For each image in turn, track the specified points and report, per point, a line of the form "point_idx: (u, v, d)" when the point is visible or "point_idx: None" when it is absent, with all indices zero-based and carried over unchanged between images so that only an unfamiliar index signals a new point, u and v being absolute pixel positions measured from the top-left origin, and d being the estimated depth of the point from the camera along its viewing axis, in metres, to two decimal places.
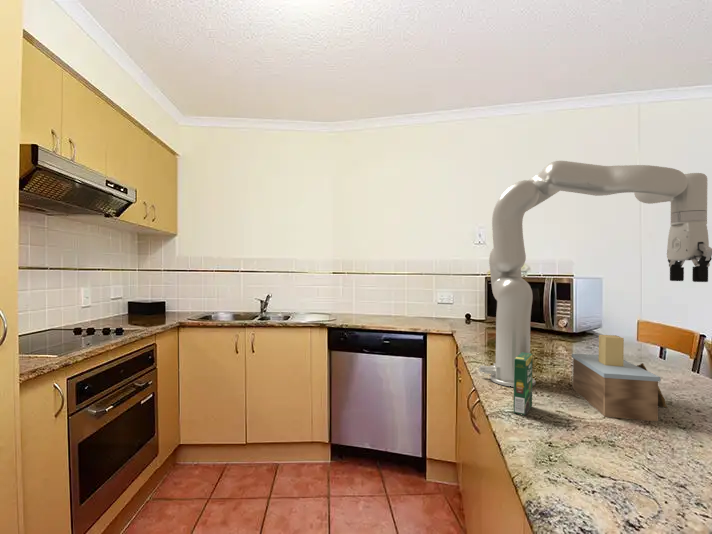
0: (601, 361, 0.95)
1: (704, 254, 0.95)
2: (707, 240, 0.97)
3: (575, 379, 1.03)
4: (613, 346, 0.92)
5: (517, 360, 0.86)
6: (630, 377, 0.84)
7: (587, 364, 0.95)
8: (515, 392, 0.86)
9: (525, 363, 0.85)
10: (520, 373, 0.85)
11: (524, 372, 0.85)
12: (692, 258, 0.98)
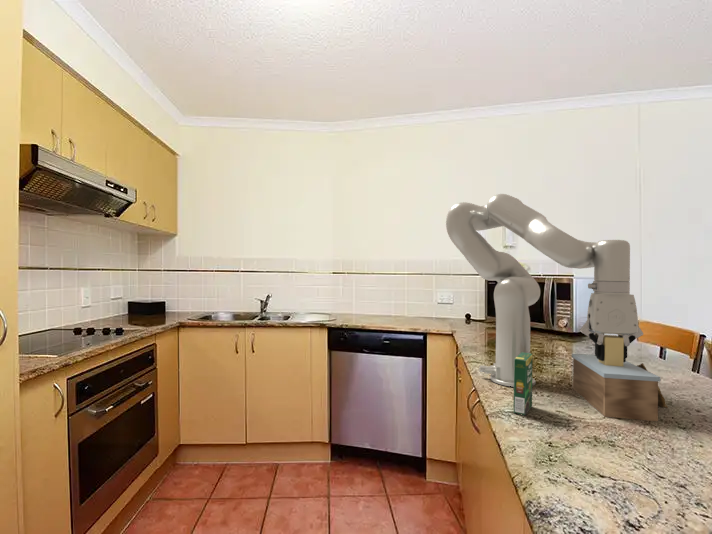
0: (601, 361, 0.95)
1: (636, 335, 0.93)
2: None
3: (575, 379, 1.03)
4: (613, 346, 0.92)
5: (517, 360, 0.86)
6: (630, 377, 0.84)
7: (587, 364, 0.95)
8: (515, 392, 0.86)
9: (525, 363, 0.85)
10: (520, 373, 0.85)
11: (524, 372, 0.85)
12: None
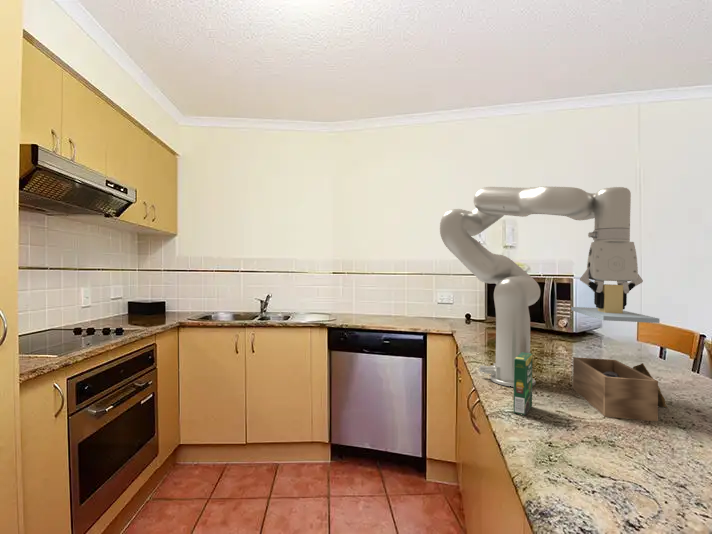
0: (600, 309, 0.95)
1: (635, 282, 0.93)
2: None
3: (575, 379, 1.03)
4: (612, 294, 0.93)
5: (517, 360, 0.86)
6: (629, 319, 0.84)
7: (586, 312, 0.95)
8: (515, 392, 0.86)
9: (525, 363, 0.85)
10: (520, 373, 0.85)
11: (524, 372, 0.85)
12: None
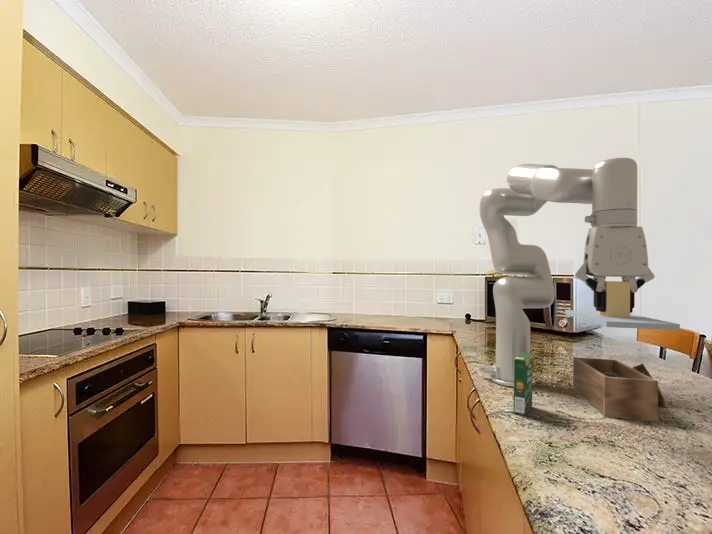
0: (602, 313, 0.75)
1: (645, 278, 0.73)
2: None
3: (575, 379, 1.03)
4: (616, 293, 0.73)
5: (517, 360, 0.86)
6: (640, 325, 0.64)
7: (584, 317, 0.75)
8: (515, 392, 0.86)
9: (525, 363, 0.85)
10: (520, 373, 0.85)
11: (524, 372, 0.85)
12: None
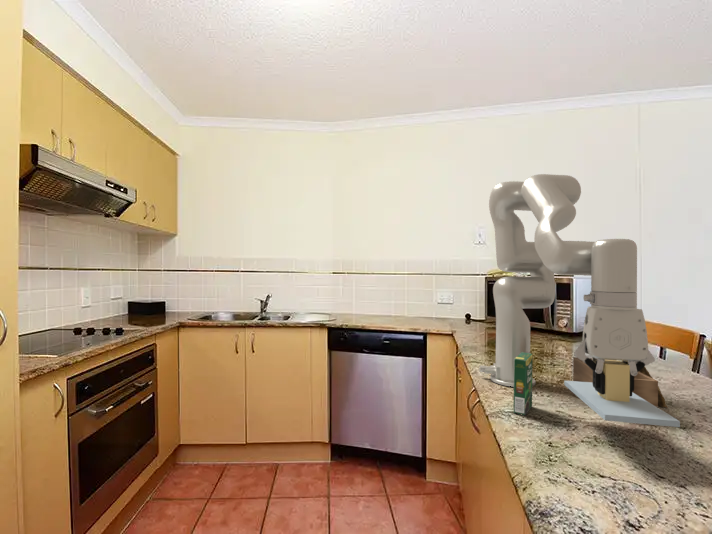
0: (601, 394, 0.74)
1: (645, 361, 0.72)
2: None
3: (575, 379, 1.03)
4: (616, 376, 0.72)
5: (517, 360, 0.86)
6: (639, 420, 0.63)
7: (583, 398, 0.74)
8: (515, 392, 0.86)
9: (525, 363, 0.85)
10: (520, 373, 0.85)
11: (524, 372, 0.85)
12: None
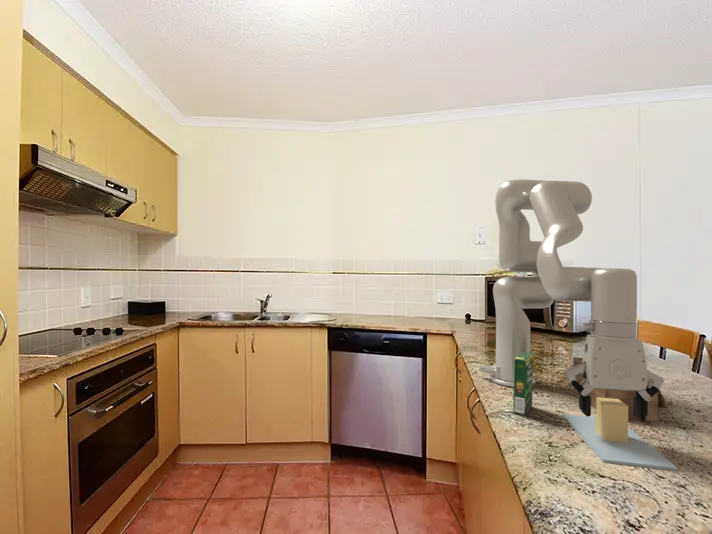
0: (599, 433, 0.74)
1: (656, 384, 0.72)
2: None
3: None
4: (614, 416, 0.72)
5: (517, 360, 0.86)
6: None
7: None
8: (515, 392, 0.86)
9: (525, 363, 0.85)
10: (520, 373, 0.85)
11: (524, 372, 0.85)
12: None
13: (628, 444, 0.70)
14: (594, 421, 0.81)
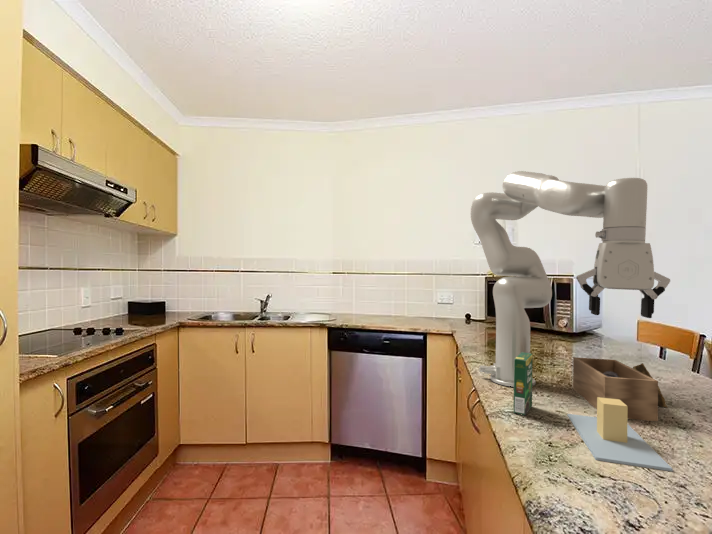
0: (599, 432, 0.75)
1: (663, 284, 0.78)
2: None
3: (575, 379, 1.03)
4: (613, 416, 0.72)
5: (517, 360, 0.86)
6: None
7: (580, 435, 0.75)
8: (515, 392, 0.86)
9: (525, 363, 0.85)
10: (520, 373, 0.85)
11: (524, 372, 0.85)
12: None
13: (627, 444, 0.70)
14: None
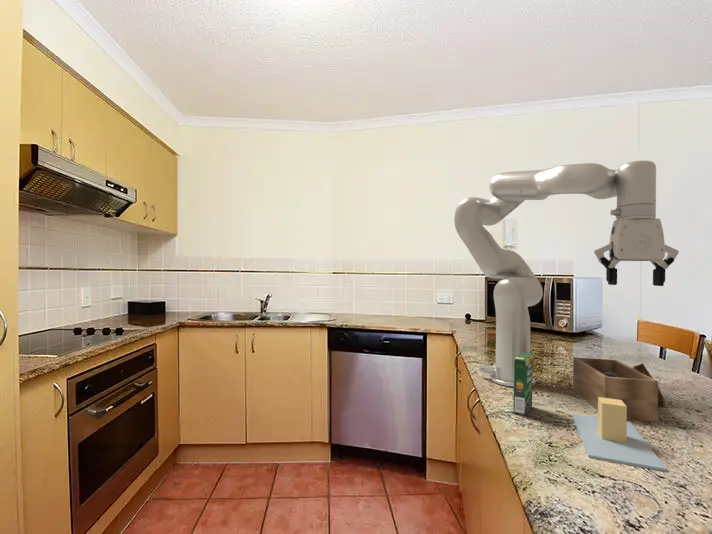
0: (599, 432, 0.75)
1: (672, 255, 0.87)
2: None
3: (575, 379, 1.03)
4: (612, 416, 0.72)
5: (517, 360, 0.86)
6: None
7: (579, 434, 0.75)
8: (515, 392, 0.86)
9: (525, 363, 0.85)
10: (520, 373, 0.85)
11: (524, 372, 0.85)
12: None
13: (625, 444, 0.70)
14: None
